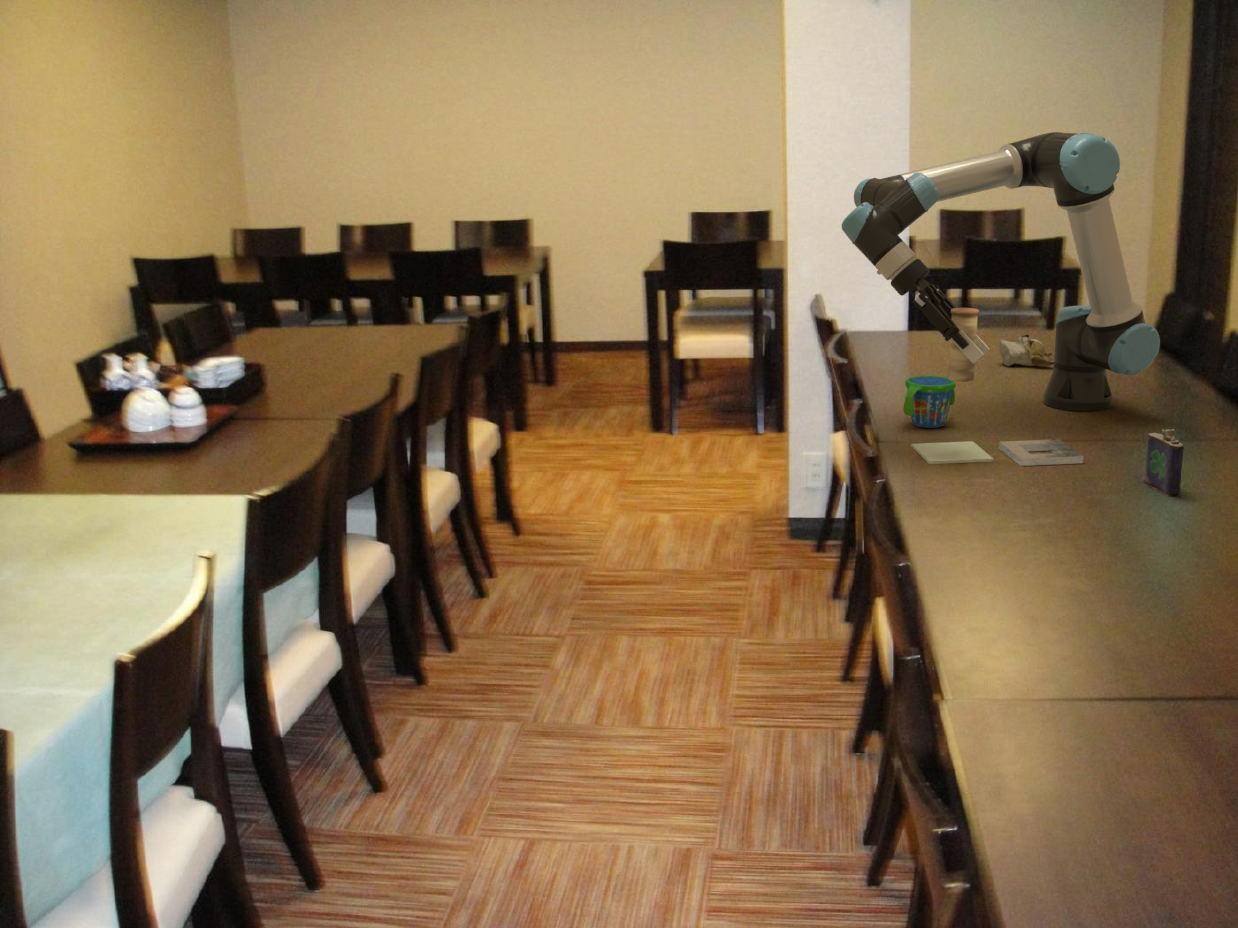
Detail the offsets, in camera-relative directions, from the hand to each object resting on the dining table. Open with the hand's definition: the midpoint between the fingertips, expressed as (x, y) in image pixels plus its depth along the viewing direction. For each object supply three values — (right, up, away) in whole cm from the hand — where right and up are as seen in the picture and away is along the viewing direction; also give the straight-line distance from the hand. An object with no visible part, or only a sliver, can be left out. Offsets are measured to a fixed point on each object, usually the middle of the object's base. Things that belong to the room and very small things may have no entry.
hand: (981, 356), depth 255 cm
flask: (+29, -26, -17) cm, 43 cm away
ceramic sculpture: (+36, +4, +84) cm, 92 cm away
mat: (-4, -19, +8) cm, 21 cm away
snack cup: (-3, -13, +30) cm, 33 cm away
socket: (+13, -20, +5) cm, 24 cm away
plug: (-3, -4, +3) cm, 6 cm away
